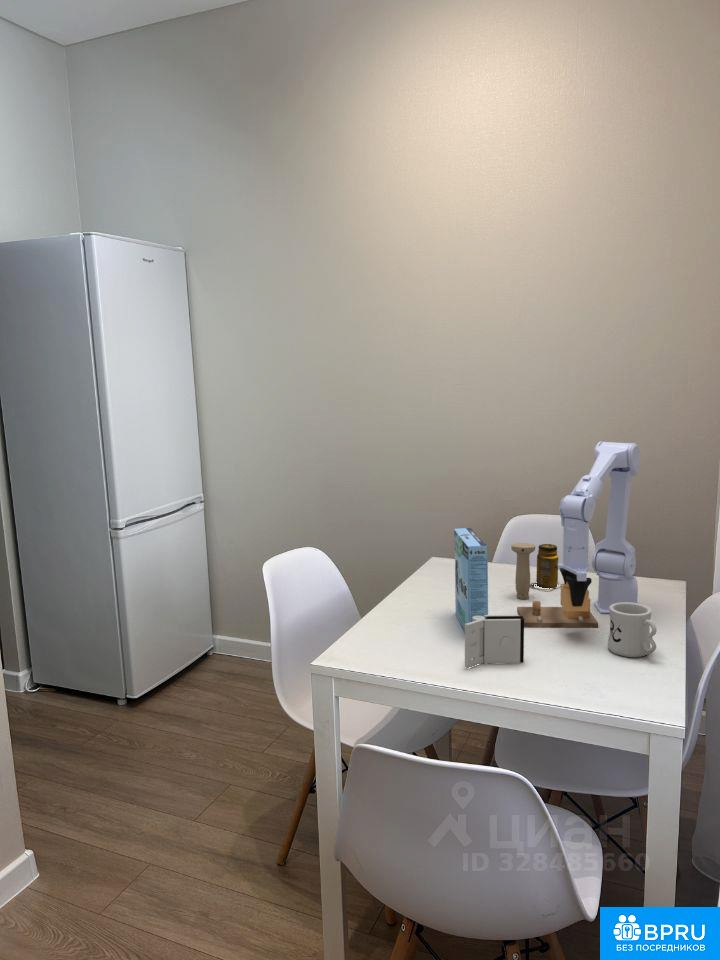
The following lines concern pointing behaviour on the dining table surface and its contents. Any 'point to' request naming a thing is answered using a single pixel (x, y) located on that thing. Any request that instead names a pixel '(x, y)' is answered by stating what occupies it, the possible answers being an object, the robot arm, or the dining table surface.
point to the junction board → (556, 617)
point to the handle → (523, 568)
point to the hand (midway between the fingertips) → (574, 601)
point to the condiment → (547, 567)
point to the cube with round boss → (567, 602)
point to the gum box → (470, 575)
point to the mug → (631, 630)
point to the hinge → (494, 639)
